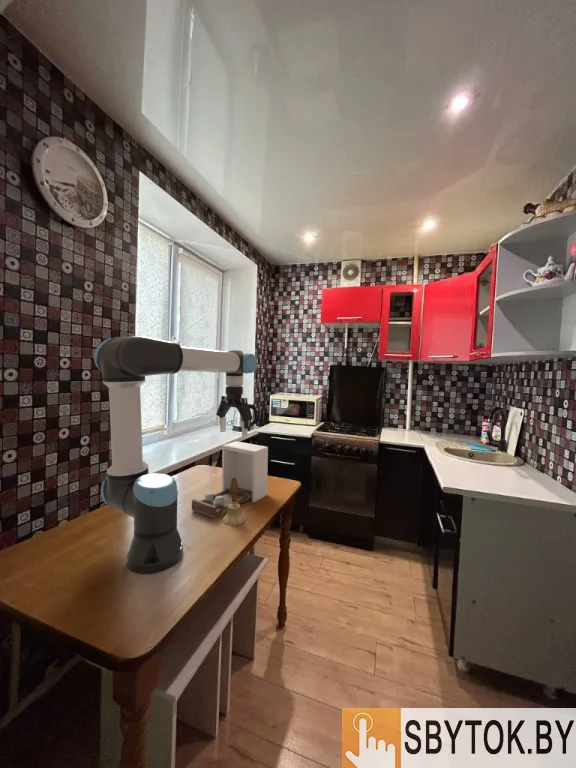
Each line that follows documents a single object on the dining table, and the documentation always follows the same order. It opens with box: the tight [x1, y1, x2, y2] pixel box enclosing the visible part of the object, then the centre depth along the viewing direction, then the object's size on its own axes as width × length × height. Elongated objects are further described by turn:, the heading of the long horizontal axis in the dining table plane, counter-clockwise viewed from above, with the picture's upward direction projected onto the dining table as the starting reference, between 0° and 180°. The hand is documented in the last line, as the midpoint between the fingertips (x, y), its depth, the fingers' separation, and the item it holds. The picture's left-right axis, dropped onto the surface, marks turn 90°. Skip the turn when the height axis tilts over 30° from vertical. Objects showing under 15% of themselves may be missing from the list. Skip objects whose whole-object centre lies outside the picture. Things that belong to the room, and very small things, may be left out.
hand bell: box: [222, 477, 246, 526], centre depth 115 cm, size 8×8×16 cm
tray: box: [191, 488, 249, 519], centre depth 127 cm, size 20×12×5 cm, turn 149°
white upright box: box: [195, 440, 269, 519], centre depth 131 cm, size 29×18×22 cm, turn 149°
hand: (233, 434), depth 138 cm, fingers open, 13 cm apart
